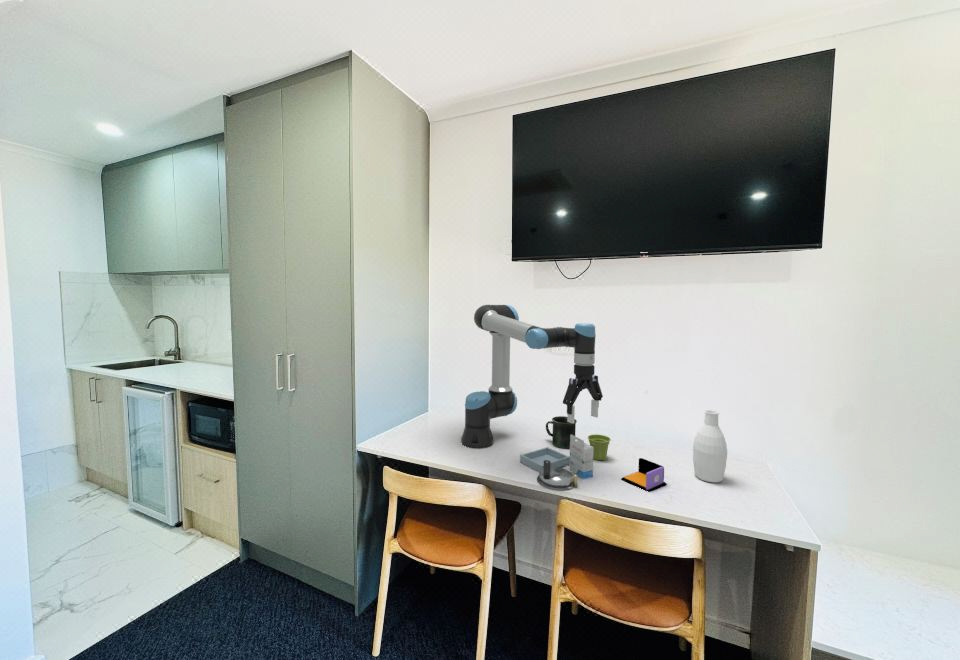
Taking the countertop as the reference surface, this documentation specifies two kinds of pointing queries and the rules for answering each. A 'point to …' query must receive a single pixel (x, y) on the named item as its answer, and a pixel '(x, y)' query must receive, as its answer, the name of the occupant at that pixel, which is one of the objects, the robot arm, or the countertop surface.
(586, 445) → the ink box
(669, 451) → the countertop surface
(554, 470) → the crank
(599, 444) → the plant pot
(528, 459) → the tray
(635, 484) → the miniature room corner
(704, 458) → the bottle
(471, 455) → the countertop surface
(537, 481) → the crank base
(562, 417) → the mug
